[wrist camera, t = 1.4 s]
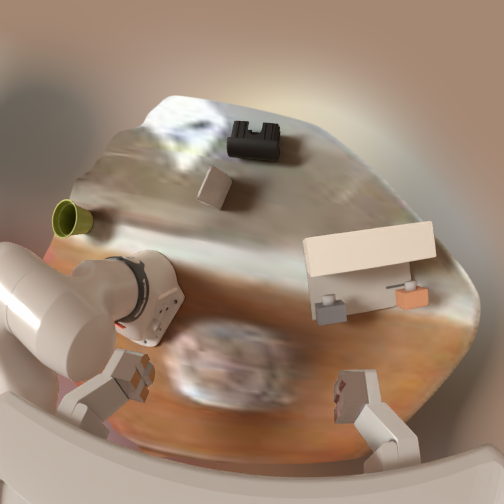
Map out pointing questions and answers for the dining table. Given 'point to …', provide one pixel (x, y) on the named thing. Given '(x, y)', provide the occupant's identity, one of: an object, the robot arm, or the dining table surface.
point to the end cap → (254, 142)
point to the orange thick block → (411, 296)
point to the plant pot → (71, 219)
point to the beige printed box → (214, 188)
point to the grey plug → (330, 310)
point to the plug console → (365, 264)
